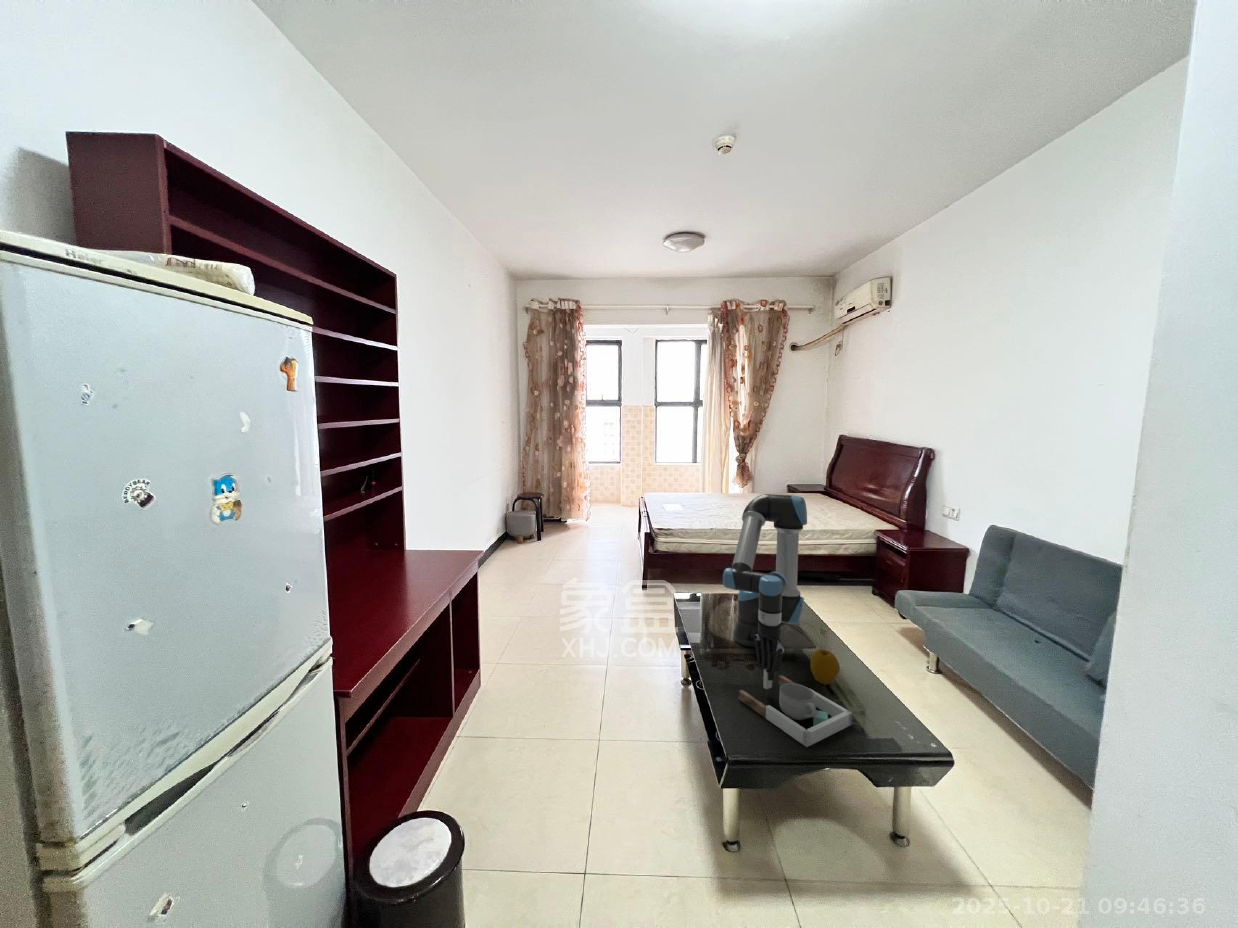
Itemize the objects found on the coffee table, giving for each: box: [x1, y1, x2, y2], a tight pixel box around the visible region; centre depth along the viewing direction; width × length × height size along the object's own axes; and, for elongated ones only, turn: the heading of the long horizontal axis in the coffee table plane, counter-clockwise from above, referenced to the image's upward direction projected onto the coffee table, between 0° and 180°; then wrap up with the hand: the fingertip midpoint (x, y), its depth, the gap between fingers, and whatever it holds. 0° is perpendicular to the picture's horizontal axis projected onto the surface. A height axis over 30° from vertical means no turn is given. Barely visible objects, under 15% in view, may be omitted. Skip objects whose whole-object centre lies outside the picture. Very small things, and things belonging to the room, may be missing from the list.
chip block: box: [812, 709, 829, 727], centre depth 144 cm, size 4×4×4 cm
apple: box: [810, 648, 841, 685], centre depth 170 cm, size 10×10×12 cm
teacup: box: [778, 682, 817, 721], centre depth 149 cm, size 14×11×8 cm
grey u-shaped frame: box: [765, 688, 853, 748], centre depth 147 cm, size 16×21×4 cm
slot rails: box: [738, 674, 797, 719], centre depth 158 cm, size 12×21×3 cm, turn 120°
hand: (767, 687), depth 161 cm, fingers closed
